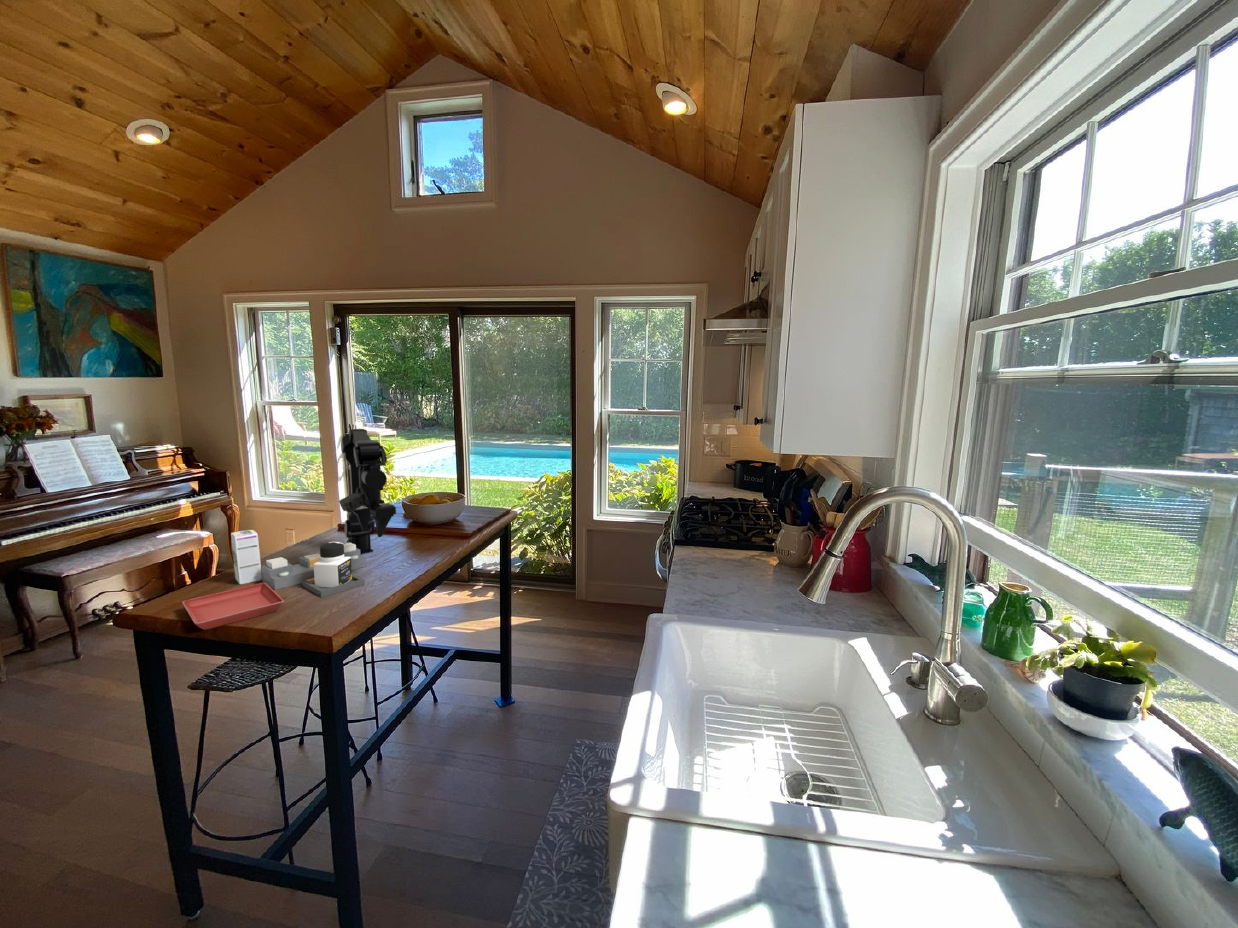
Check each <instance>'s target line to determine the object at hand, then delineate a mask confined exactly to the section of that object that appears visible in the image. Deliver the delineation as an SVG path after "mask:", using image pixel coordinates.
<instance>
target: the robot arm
mask: <svg viewBox="0 0 1238 928" xmlns="http://www.w3.org/2000/svg"><path fill="white" fill-rule="evenodd" d="M340 449H341V450H340V451H341V454H343V459H344V460H345V461H346V462H347V463H348V465H349V477H350V478H349V480H350V482H349V484H350V495H348V496H345V497H344V498H342V499H340V500H339V501H338V503H339V504H340V506H341V509H342V511H343V512H347V514H346V519H345V522H344V535H345V538H347V540H346V543H352V544H355V545H356V548H358V549H360V555H364V554H367V553H372V552H374V549H372V547H371V546H372V545H371V544H372V543H371V535H372V536H373V535H374V534H375V530H376V535H377V537H378V538H381V537H383V536H384V533H385V531H386V529H387V527H388V525H389V522H390V521H391V519H392V518H393V517H394V516H395V515H396V514H397V507H396V506H395V505H393V504H391V503H388V502H387V503H385V500H384V499H382V494H381V493H382V491H384V486H385V485H386V483H387V478H388V477H387V475H386V474H385V472H384V471H382V470H381V467H385V466H387V465H386V463H387V462H388V461H387V460H388V458H387V454H386V450H385V448H384V446H383V445H381V443H380V442H379V441H378V440H372V439H371V438H370V436H369V434H368V430H367V429H364V428H352V429H349V430H348V433H347V434H346V435H344V436H343V437H342V438H341V442H340Z"/></svg>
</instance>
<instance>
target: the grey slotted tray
mask: <svg viewBox="0 0 1238 928" xmlns="http://www.w3.org/2000/svg"><path fill="white" fill-rule="evenodd" d="M317 553H318V554H320V552H317ZM344 557H351V568H352V571H354V570H359V569H361V567H362V568H365V566H366V567H367V561H366V560H367V558H366V557H365V556H363V555H362V554H360V549H358V548H356V550H354V551H349V552H345V553H344ZM320 560H321V559H320V558H319V559H314V560H310V561H309V560H307V559H304V556H300V557H299V563H297V564H291V563H290V562H287V564H288V566H283V567H279V568H275V569H270V568H268V567H267V564H263V565H261V573H262V583H266V584H267V585H268V586H269V587H270V588H271V589H273V590H274V591H276V590H280V589H283V588H287V587H292V586H295V585H299V584H302V581H305V580H309V579H313V578H314V563H316V562H318V561H320Z"/></svg>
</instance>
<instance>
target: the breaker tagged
mask: <svg viewBox="0 0 1238 928" xmlns="http://www.w3.org/2000/svg"><path fill="white" fill-rule="evenodd" d="M318 553H319V552H317V553H312V554H307V555H304V556H303V557H304V559H307V560H309V561H310V560H314V559H319V558H320V554H318Z"/></svg>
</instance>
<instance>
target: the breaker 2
mask: <svg viewBox="0 0 1238 928" xmlns="http://www.w3.org/2000/svg"><path fill="white" fill-rule="evenodd" d="M343 544H344V553H345V552H349V551H354V550H356V545H355V544H352V543H347V542H346V543H343Z"/></svg>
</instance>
